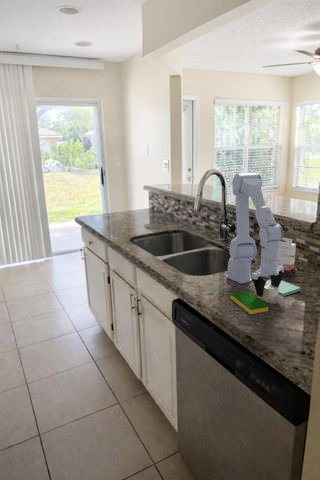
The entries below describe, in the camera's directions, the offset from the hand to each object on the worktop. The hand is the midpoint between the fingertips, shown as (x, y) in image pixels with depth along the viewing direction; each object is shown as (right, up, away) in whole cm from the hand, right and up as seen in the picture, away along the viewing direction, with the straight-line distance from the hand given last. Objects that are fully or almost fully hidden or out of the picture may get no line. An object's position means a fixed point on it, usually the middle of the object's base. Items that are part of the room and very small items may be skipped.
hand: (266, 293), depth 127 cm
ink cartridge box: (+17, +7, +32) cm, 37 cm away
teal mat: (+8, +1, +10) cm, 12 cm away
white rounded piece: (0, -2, +1) cm, 2 cm away
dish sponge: (-8, -4, -3) cm, 9 cm away
